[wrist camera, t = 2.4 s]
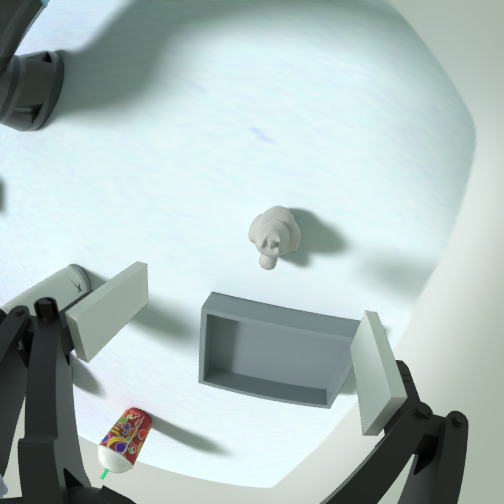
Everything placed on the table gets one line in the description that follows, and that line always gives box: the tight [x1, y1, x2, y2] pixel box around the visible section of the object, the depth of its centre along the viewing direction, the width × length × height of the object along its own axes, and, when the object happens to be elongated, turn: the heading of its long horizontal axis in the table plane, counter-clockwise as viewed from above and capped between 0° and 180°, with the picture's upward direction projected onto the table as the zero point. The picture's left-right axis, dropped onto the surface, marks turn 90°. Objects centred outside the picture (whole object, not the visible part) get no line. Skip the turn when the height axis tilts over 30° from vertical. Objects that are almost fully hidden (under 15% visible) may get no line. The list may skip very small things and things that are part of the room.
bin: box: [199, 292, 360, 409], centre depth 34 cm, size 13×19×4 cm
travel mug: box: [0, 264, 90, 348], centre depth 30 cm, size 6×7×20 cm
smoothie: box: [97, 408, 151, 479], centre depth 40 cm, size 8×8×20 cm
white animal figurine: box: [248, 206, 301, 270], centre depth 27 cm, size 5×7×8 cm
